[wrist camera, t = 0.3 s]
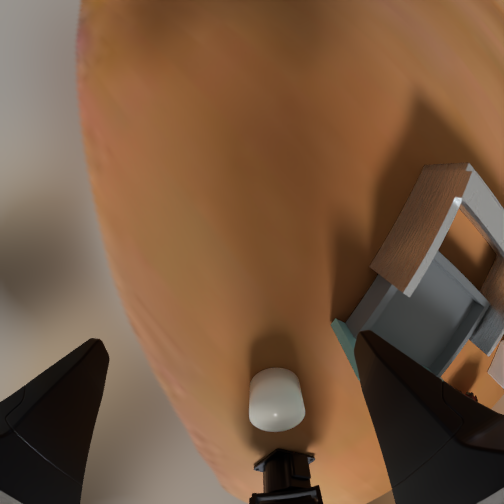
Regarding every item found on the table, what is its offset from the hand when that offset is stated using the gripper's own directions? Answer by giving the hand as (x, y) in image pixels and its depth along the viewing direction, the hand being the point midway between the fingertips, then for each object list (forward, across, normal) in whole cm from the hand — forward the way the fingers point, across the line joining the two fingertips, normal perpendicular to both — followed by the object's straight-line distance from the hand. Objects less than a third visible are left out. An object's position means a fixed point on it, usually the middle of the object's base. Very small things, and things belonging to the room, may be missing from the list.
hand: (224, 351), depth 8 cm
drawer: (+13, -19, +9) cm, 24 cm away
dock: (+14, -22, +5) cm, 26 cm away
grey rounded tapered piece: (+12, -3, +17) cm, 21 cm away
